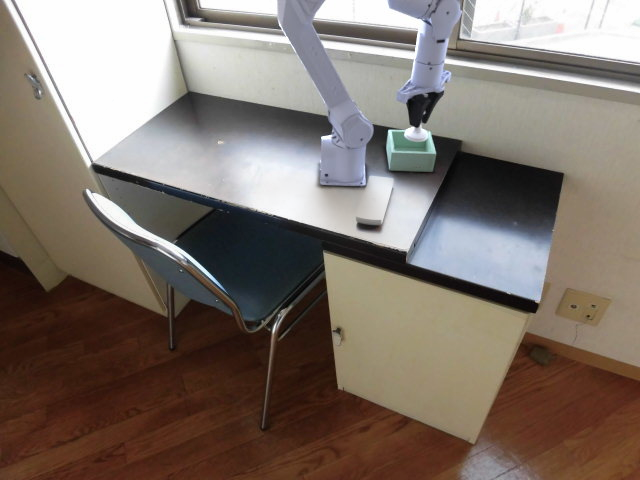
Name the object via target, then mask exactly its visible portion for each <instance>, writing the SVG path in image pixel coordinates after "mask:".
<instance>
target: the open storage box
mask: <svg viewBox="0 0 640 480" xmlns="http://www.w3.org/2000/svg"><path fill="white" fill-rule="evenodd" d="M387 130H388V131H387V138H386V146H385V148H386V155H387V163H388V171H393V172H394V171H395V172H421V173H422V172H423V173H425V172H426V173H432V172H433V171H434V166H435V162H436V159H437V158H436V157H437V151H436V148H435V144H434V140H433V136H432V132H431V130H426V131H427V133H428V138H427V140H425V141H423V142H413V141H410V140H408V139H407V138H406V137H405V136H404V134H405V131H406V130H407V129H387ZM414 167H415V168H414ZM416 167H417V168H416ZM419 167H420V168H419Z"/></svg>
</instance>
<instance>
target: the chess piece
mask: <svg viewBox="0 0 640 480" xmlns="http://www.w3.org/2000/svg"><path fill="white" fill-rule="evenodd" d="M423 95H424V97H428V94H425V93H423ZM425 113H426V112H425V111H424V114H425ZM422 125H423V123H422V121H421V124H420V126H419V127H418V128H415V127H413V126H411V127H408V128H407V129H405V130H406V131H405V134H404V136H405V137H406V138H407V139H408V140H410V141H413V142H423V141H425V140H427V138H428V133H427V131H428V130H426V129H424V128H423V126H422Z"/></svg>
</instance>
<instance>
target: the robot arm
mask: <svg viewBox="0 0 640 480" xmlns="http://www.w3.org/2000/svg"><path fill="white" fill-rule="evenodd" d="M325 1H326V0H276V2H277V3H276V4H277V5H276V6H277V7H276V9H277V10H276V11H277V13H276V14H277V16H276V17H277V21H278V25H279V27H280V28H281V30H282V32H283V34H284V35H285V37H286V38H287V40H288V42H289V44H290V45H291V47H292V49H293V51H294V52H295V54H296V56H297V58H298V59H299V61H300V63H301V65H302V66H303V68H304V70H305V71H306V73H307V75H308V76H309V78H310V80H311V81H312V84H313V86H314V87H315V88H316V90H317V92H318V93H319V95H320V98H321V99H322V100H323V102H324V105H325V107H326V110H327V119H328V122H329V123H330V124H331V126H332V130H331V134H330V135H324V136H321V140H320V141H321V142H320V161H318V162H319V163H318V169H319V171H320V180H319V181H320V182H319V183H320V185H321V186H339V187H340V186H343V187H344V186H345V187H366V186H367V179H366V165H365V164H366V163H365V162H366V152H367V144H368V143H369V142H370V141H371V139H372V137H373V135H374V125H373V123H372V122H371V121H370V120H369V118H367V117H366V116H365V114H364V113H363V112H362V111H361V110H360V109H359V107H358V105H357V104H356V102H355V101H354V100H353V99H352V97H351V95H350V94H349V92H348V90H347V87H346V86H345V84H344V82H343V80H342V78H341V77H340V75H339V73H338V71H337V68H336V67H335V65H334V64H333V61H332V59H331V58H330V56H329V54H328V52H327V50H326V48H325V46H324V44H323V43H322V41H321V38H320V37H319V35H318V33H317V30H316V29H315V27H314V25H313V21H314V18H315V16H316V14H317V12H318V11H319V10H320V9H321V7H322V6H323V4H324V3H325ZM384 2H385V5H386V6H387V8H388V9H390V10H393V11H396V12H398V13H401V14H404V15H406V16H408V17H411V18H414V19H416V20H419V24H418V31H417V37H416V44H415V50H414V57H413V63H412V70H411V77H410V78H409V79H408V80H407V81H406V83H405V84H404V85H403V86H402V87H401V88H399V89H398V90H397V92H396V97H395V98H396V99H395V100H396V101H398V102H399V103H402V104H405V105H406V109H407V114H408V123H409V126H411V127H415V128H418V127H419V126H420V124H421V121H422V124H424V125H425V124H427V123H428V121H429V119H430V117H431V115H432V113H433V111H434V109H435V107H436V106H437V104H438V102H439V101H440V100H441V98H443V96H444V95H445V86H444V84H445V83H446V84H448V83H450V82H451V79H452V71H449V70H446V69H444V66H445V61H446V58H447V57H446V56H447V52H448V47H449V43H450V37H451V36H452V35H453V34H452V33H453V29H454V27H455V25H456V24H457V23H458V22H459V20H460V19H461V16H462V13H463V10H462V9H461V2H460V0H384ZM423 93H425V94H428V97H424V95H423ZM424 111H425V112H426V113H425V114H424Z"/></svg>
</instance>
